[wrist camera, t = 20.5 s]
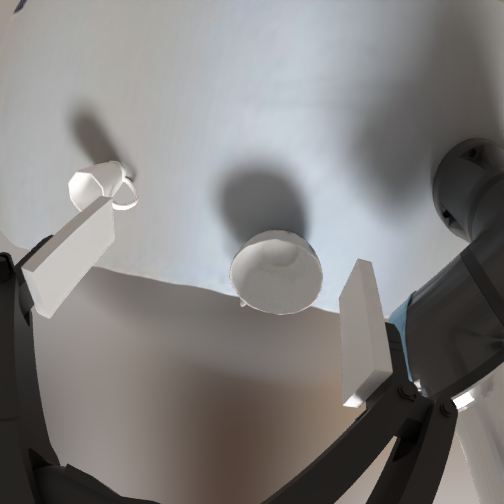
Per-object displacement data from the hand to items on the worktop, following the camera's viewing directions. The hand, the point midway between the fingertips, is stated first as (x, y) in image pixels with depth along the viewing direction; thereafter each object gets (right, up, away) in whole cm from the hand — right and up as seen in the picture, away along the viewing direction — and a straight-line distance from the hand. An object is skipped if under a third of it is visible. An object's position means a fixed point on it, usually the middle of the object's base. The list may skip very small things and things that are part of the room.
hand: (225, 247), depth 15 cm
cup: (-19, +12, +29) cm, 36 cm away
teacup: (+5, 0, +32) cm, 33 cm away
